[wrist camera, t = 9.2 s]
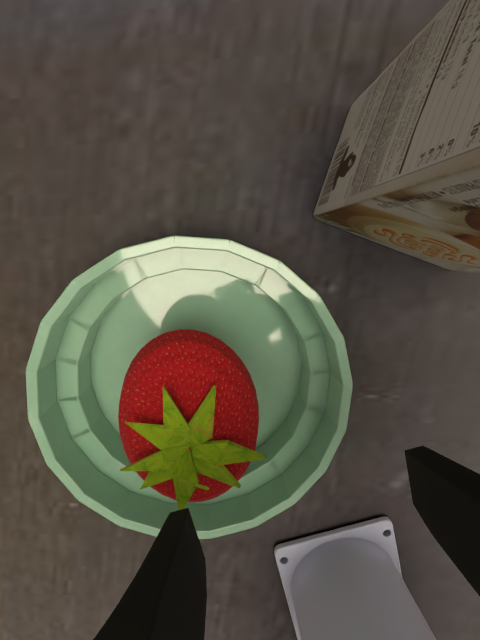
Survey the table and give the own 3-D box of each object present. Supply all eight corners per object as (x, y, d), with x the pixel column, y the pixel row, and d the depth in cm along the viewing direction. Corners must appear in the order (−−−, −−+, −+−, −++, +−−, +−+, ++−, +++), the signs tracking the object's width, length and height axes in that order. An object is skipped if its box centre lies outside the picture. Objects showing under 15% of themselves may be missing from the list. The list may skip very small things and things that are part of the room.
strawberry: (241, 301, 20) (265, 355, 10) (254, 424, 22) (286, 573, 12) (134, 313, 20) (55, 381, 10) (155, 437, 21) (105, 599, 12)
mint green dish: (344, 448, 23) (374, 496, 19) (114, 508, 23) (90, 571, 18) (295, 208, 20) (318, 198, 15) (26, 276, 20) (-28, 286, 15)
